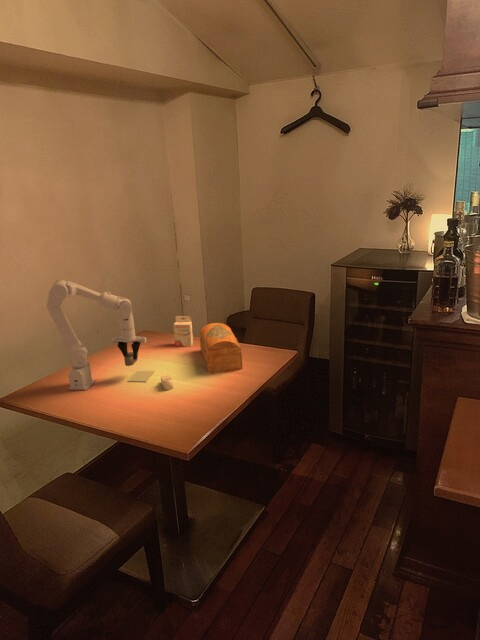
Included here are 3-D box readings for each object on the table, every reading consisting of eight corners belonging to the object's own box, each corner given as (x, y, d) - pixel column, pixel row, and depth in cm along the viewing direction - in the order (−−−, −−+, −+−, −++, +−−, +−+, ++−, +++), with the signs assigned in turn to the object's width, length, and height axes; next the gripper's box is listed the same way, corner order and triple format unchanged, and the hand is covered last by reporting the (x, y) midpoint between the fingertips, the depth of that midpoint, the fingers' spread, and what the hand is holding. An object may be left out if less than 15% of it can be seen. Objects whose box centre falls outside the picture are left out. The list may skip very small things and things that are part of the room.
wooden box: (245, 369, 203) (243, 339, 199) (207, 373, 201) (204, 343, 197) (233, 347, 232) (232, 320, 228) (200, 350, 229) (198, 323, 225)
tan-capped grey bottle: (131, 365, 194) (130, 358, 193) (123, 365, 194) (122, 358, 193) (139, 357, 202) (138, 350, 201) (131, 357, 203) (130, 350, 202)
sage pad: (146, 382, 194) (146, 381, 194) (127, 381, 196) (127, 380, 196) (154, 371, 205) (154, 370, 205) (137, 371, 206) (137, 370, 206)
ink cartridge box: (174, 346, 236) (172, 318, 232) (177, 343, 241) (174, 315, 237) (191, 346, 235) (189, 318, 231) (193, 343, 240) (191, 315, 236)
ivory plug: (173, 389, 186) (173, 380, 185) (165, 390, 185) (164, 382, 184) (168, 380, 195) (167, 373, 194) (160, 382, 193) (159, 374, 192)
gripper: (147, 324, 196) (150, 355, 200) (114, 325, 199) (118, 355, 202) (141, 329, 190) (145, 361, 193) (107, 330, 192) (112, 361, 196)
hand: (131, 358), depth 197 cm, fingers closed on tan-capped grey bottle, 3 cm apart
